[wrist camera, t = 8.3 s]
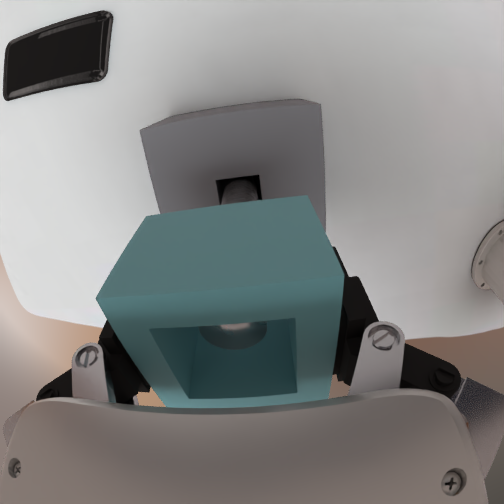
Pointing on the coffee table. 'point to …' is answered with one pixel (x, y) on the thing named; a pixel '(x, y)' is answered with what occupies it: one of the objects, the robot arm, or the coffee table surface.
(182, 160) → the bearing block
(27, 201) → the coffee table surface
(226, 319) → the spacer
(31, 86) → the phone
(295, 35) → the coffee table surface
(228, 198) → the shaft
